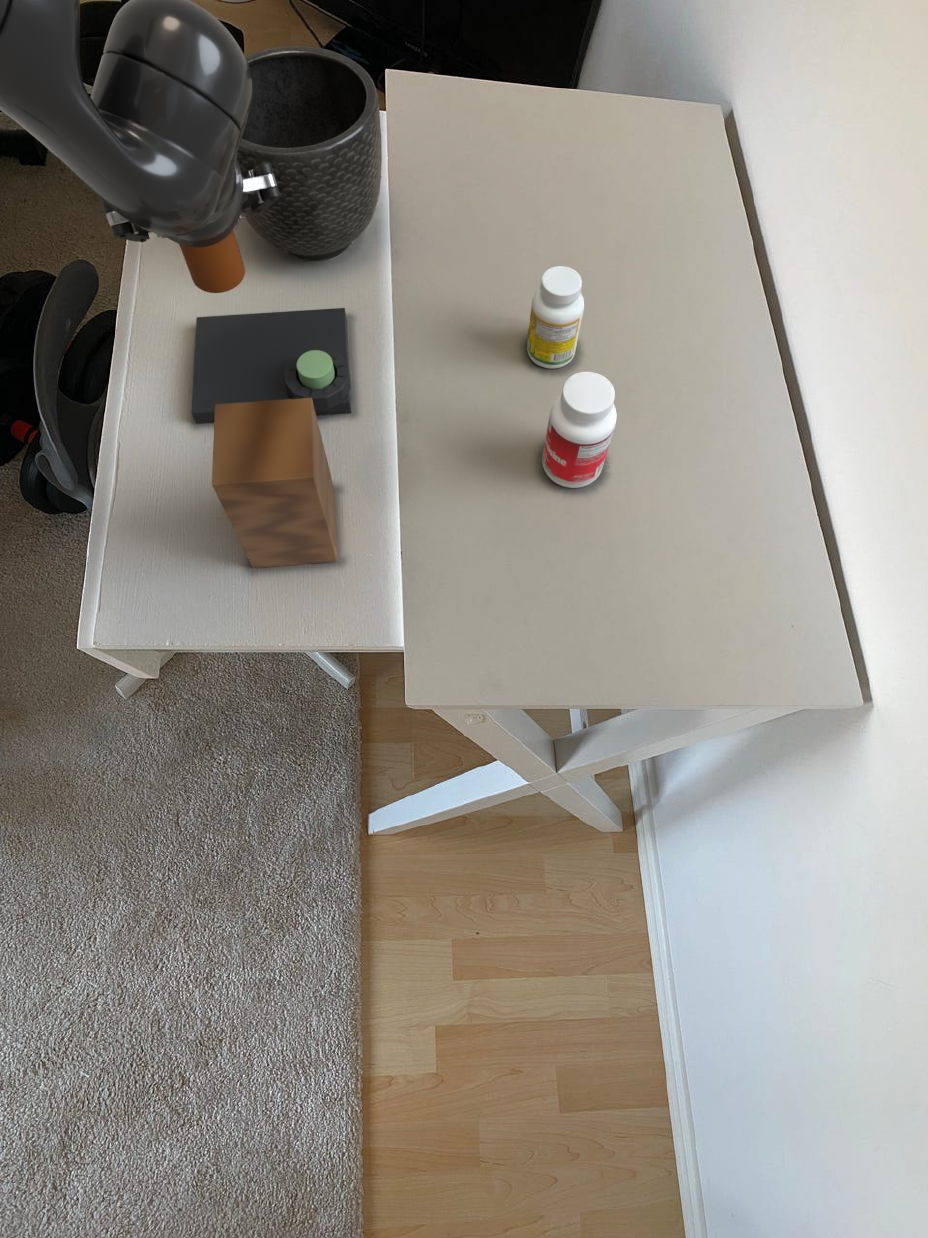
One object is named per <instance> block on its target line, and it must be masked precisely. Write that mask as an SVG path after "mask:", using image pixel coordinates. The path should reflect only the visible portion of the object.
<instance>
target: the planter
mask: <svg viewBox="0 0 928 1238" xmlns="http://www.w3.org/2000/svg"><path fill="white" fill-rule="evenodd" d="M245 58H246V60H247V62H248V65H249V68H250V71H251V74H252V79H253V88H254V92H253V100H252V104H251V108H250V112H249V116H248V119H247V123H246V126H245V129H244V133H243V136H242V139H241V142H240V145H239V149H238V154H237V161H238V163H239V167H240V171H241V174H242V176H243V179H246V178H247V177H248V176H249V171H250V170H254V169H255V168H256V167H257V166H259V165H260V164H261V163H266V164H267V163H271V166H272V169H273V172H274V176H275V179H276V182H277V186H278V189H279V192H280V196H281V197H280V198H279V199H278V200H276V201H275V202H274V203H273V204H272V205H271V206H270V207H268V208H267V209H266V210H264V211H263V212H262V213H253V211H252V208H248V209H246V210H245V213H246V216H244V217H243V218H245V220H246V221H247V223H248V224H249V225H250V227H251V228H252V229H253V230H254V231H255V233H257V235H258V236H259V237H261V238H262V239H263V240H265V241H266V242H267V243H269V244H270V245H272V246H274V247H275V248H277V249H278V250H279V249H280V250H282V251H284V252H286V253H288V254H289V255H290V256H292V257H295V258H296V259H299V260H303V261H308V262H309V261H310V262H318V261H325V260H329V259H332V258H335V257H337V256H339V255H340V254H342V253H343V252H345V251H346V250H347V249H348V248H349V247H350V246H351V244H352V243H353V242H354V241H356V239H358V238H359V237H360V236H361V234H362V233H364V231H365V230H366V229H367V227H368V226H369V224H370V222H371V221H372V219H373V217H374V215H375V211H376V208H377V205H378V202H379V199H380V198H379V197H380V191H381V183H382V166H383V165H382V164H383V154H382V153H383V152H382V151H383V149H382V145H383V144H382V126H381V114H380V113H381V111H380V103H379V102H380V101H379V95H378V90H377V88H376V85H375V82H374V80H373V79H372V77H371V75H370V74H369V73H368V72H367V71H366V70H365V68H363V67H362V66H361V65H360V64H359V63H357V62H356V61H354V60H353V59H351V58H350V57H347V56H345V55H343V54H341V53H339V52H336V51H333V50H330V49H326V48H320V47H315V46H308V45H307V46H306V45H305V46H304V45H291V46H290V45H289V46H279V47H272V48H268V49H264V50H260V51H259V50H258V51H256V52H253V53H251V54H249V55H246V56H245Z"/></svg>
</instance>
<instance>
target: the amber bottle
mask: <svg viewBox="0 0 928 1238" xmlns="http://www.w3.org/2000/svg"><path fill="white" fill-rule="evenodd" d="M237 241H238V240H237V237H236V234H235V231H234V230H233V231H232V232H231V233H230V234H229V235H228V236H227V237H226V238H225V239H223V240H222V241H220V242H218V243H216V244H214V245H211V246H207V247H189V246H184V245H181V244H178V245H179V247H180V251H181V253H182V257H183V259H184V261H185V264H186V267H187V269H188V271H189V275H190V277H191V280H192V281H193V284H194V285H195V286H196V287H197V288H198V289H199V290H201V291H203V292H205V293H209V294H221V293H226V292H229V291H231V290H233V289H236V287H239V285H240V284H241V283H242V282H243V280H244V278H245V275H246V267H245V265H244V264H245V263H244V261H243V258H242V254H241V251H240V247H239V244H238V242H237Z"/></svg>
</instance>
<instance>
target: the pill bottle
mask: <svg viewBox="0 0 928 1238" xmlns="http://www.w3.org/2000/svg"><path fill="white" fill-rule="evenodd" d="M615 398H616V392H615V387H614V385H613V383H612V382H611V381H610V380H609V379H608V378H606V377H605V376H604V375H602V374H600V373H597V372H593V371H579V372H577V373H574V374H572V375H570V377H568V378H567V379H566V381H565V382H564V383H563V386H562V390H561V393H559V394H558V395H557V396H556V398H555V399H554V401H552V405H551V407H550V411H549V416H548V422H547V427H546V434H545V439H544V446H543V449H542V450H543V451H542V456H541V457H542V458H541V460H542V461H541V462H542V467H543V470H544V473H545V474H546V475H547V476H548V478H549V479H550V480H551V481H553V482H554V483H555V484H557V485H559V486H562V487H565V488H570V489H578V488H583V487H586V486H588V485H590V484H592V483H593V482H595V481H596V480H597V479H598V478H599V477H600V475H601V473H602V471H603V468H604V465H605V461H606V458H607V454H608V451H609V447H610V445H611V441H612V438H613V435H614V432H615V428H616V424H617V419H618V418H617V417H618V415H617V409H616V406H615V404H614V403H615V402H614V401H615Z"/></svg>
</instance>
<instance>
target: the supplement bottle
mask: <svg viewBox="0 0 928 1238" xmlns="http://www.w3.org/2000/svg"><path fill="white" fill-rule="evenodd" d="M582 286H583V280H582V277H581V275H580V274H579V272H578V271H576V270H575V269H573V268H572V267H569V266H564V265H558V266H551V267H550V268H548V269H547V270H546V271H544V272H543V274H542V277H541V280H540V286H539V288H538V289H536V290H535V292H534V294H533V296H532V300H531V307H530V315H529V316H530V317H529V324H528V333H527V339H526V340H527V341H526V350H527V354H528V356H529V358H530V359H531V361H532V362H533V363H534V364H535V365H537V366H539V367H542V368H545V369H559V368H562V367H565V366H567V365H568V364H570V363H571V362H572V360H573V359H574V357H575V354H576V350H577V345H578V342H579V341H578V340H579V336H580V332H581V331H580V330H581V324H582V320H583V315H584V310H585V299H584V295H583V294H582Z"/></svg>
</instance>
